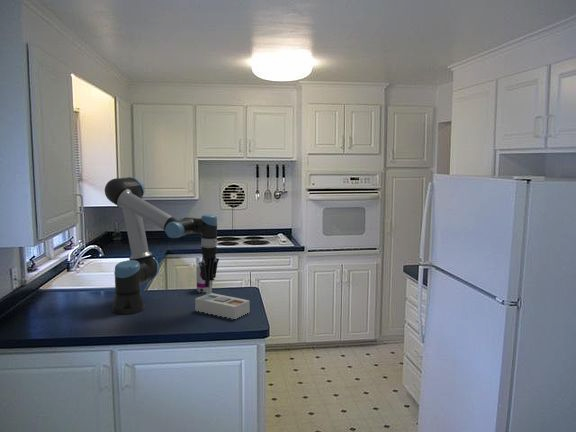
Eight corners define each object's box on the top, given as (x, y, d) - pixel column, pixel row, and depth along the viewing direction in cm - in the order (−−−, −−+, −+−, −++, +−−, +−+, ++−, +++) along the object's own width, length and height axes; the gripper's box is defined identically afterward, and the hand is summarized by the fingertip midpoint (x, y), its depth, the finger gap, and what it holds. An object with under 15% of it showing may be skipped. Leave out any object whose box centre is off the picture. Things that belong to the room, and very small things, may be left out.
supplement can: (212, 292, 268) (212, 266, 266) (197, 293, 266) (197, 267, 264) (210, 288, 276) (210, 263, 274) (196, 289, 274) (195, 263, 272)
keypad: (234, 319, 225) (234, 307, 224) (195, 310, 237) (195, 298, 236) (249, 312, 235) (249, 300, 234) (211, 304, 247) (211, 292, 246)
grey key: (223, 309, 232) (223, 301, 231) (214, 307, 234) (214, 299, 234) (230, 306, 236) (230, 298, 236) (221, 304, 239) (221, 296, 239)
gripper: (206, 249, 228) (205, 297, 231) (223, 245, 239) (222, 291, 243) (194, 247, 232) (194, 295, 235) (211, 243, 243) (211, 289, 246)
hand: (208, 293), depth 239 cm, fingers closed
